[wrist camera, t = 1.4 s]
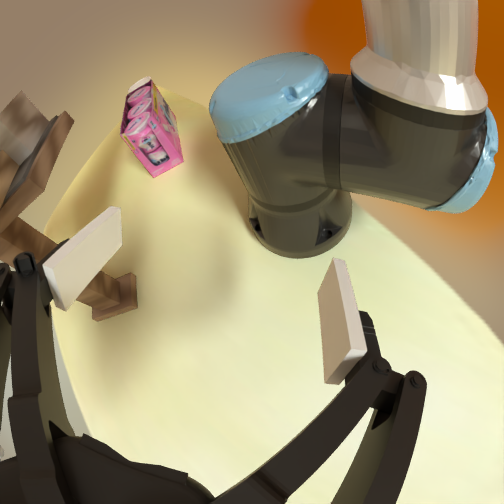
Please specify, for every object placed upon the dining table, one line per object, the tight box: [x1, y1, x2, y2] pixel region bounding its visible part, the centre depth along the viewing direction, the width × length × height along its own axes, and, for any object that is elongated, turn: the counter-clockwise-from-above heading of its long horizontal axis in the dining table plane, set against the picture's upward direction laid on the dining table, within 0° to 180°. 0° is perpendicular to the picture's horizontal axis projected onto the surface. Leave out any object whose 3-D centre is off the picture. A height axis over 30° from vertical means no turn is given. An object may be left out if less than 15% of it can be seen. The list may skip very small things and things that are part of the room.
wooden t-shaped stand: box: [0, 111, 138, 321], centre depth 33 cm, size 12×28×28 cm, turn 104°
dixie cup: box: [128, 76, 151, 93], centre depth 67 cm, size 8×8×11 cm
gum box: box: [120, 80, 184, 178], centre depth 54 cm, size 24×8×14 cm, turn 18°
